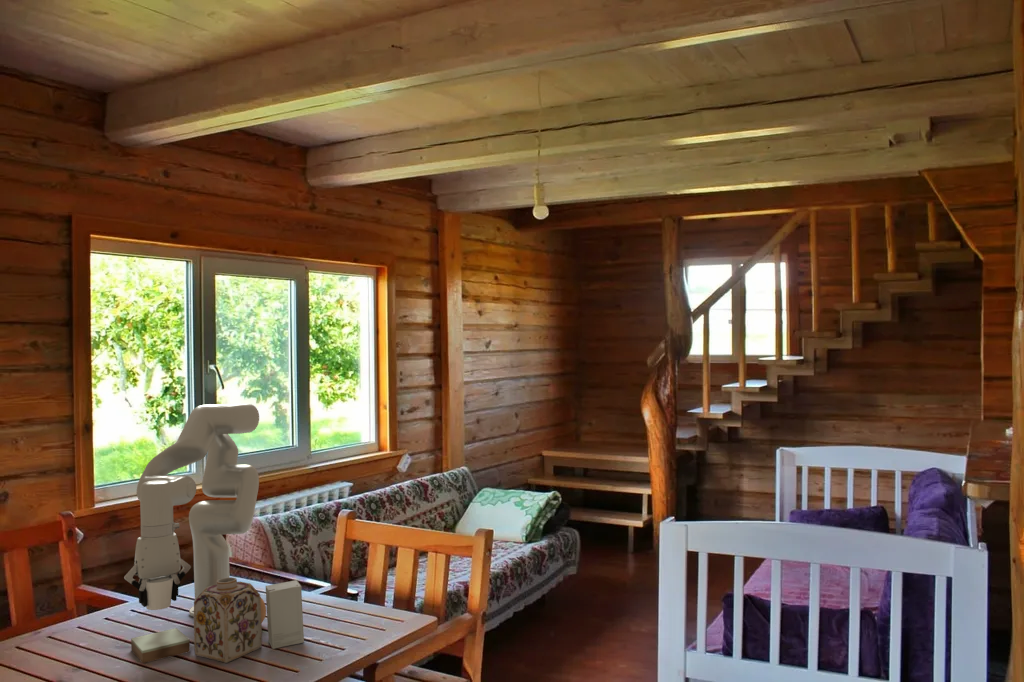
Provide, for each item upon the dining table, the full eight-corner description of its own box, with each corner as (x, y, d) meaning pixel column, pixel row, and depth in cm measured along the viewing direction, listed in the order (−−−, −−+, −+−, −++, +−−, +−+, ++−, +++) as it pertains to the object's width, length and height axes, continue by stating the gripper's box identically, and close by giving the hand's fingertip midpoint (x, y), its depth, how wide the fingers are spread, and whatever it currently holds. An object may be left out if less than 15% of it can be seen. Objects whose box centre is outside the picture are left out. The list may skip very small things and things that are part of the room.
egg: (262, 621, 225) (261, 588, 225) (269, 628, 219) (269, 594, 219) (237, 626, 221) (236, 593, 221) (244, 633, 215) (243, 599, 215)
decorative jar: (226, 664, 195) (224, 589, 195) (193, 656, 200) (191, 583, 200) (264, 647, 205) (262, 575, 205) (231, 639, 211) (229, 570, 211)
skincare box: (299, 636, 212) (298, 579, 212) (304, 643, 207) (303, 585, 207) (266, 642, 209) (265, 584, 209) (270, 650, 203) (268, 590, 203)
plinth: (177, 639, 212) (176, 627, 212) (189, 651, 203) (189, 639, 203) (131, 650, 205) (131, 638, 205) (142, 663, 197) (142, 650, 197)
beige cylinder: (162, 611, 200) (162, 582, 200) (137, 610, 201) (137, 581, 201) (179, 602, 207) (179, 575, 207) (155, 601, 208) (154, 574, 208)
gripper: (188, 523, 213) (190, 592, 212) (116, 533, 202) (117, 606, 202) (197, 527, 207) (199, 598, 206) (123, 538, 196) (125, 613, 196)
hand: (158, 601), depth 204 cm, fingers closed on beige cylinder, 6 cm apart
